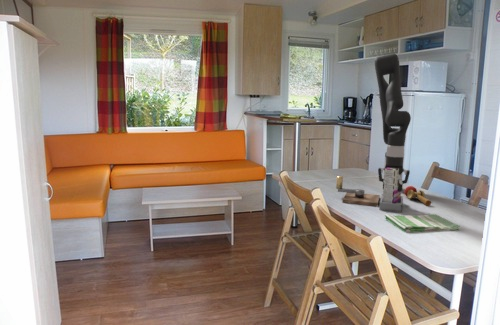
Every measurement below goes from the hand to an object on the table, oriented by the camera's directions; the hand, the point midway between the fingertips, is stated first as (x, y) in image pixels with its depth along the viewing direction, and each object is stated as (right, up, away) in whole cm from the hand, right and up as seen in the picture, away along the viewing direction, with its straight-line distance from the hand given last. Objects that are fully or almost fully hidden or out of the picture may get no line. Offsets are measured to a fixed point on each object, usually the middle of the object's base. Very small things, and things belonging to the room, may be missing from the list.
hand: (392, 191), depth 186 cm
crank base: (-11, -5, +12) cm, 17 cm away
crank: (-16, -3, +13) cm, 21 cm away
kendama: (+17, -6, +12) cm, 21 cm away
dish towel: (+3, -12, -23) cm, 26 cm away
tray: (0, -7, +1) cm, 7 cm away
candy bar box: (0, -5, +1) cm, 5 cm away
